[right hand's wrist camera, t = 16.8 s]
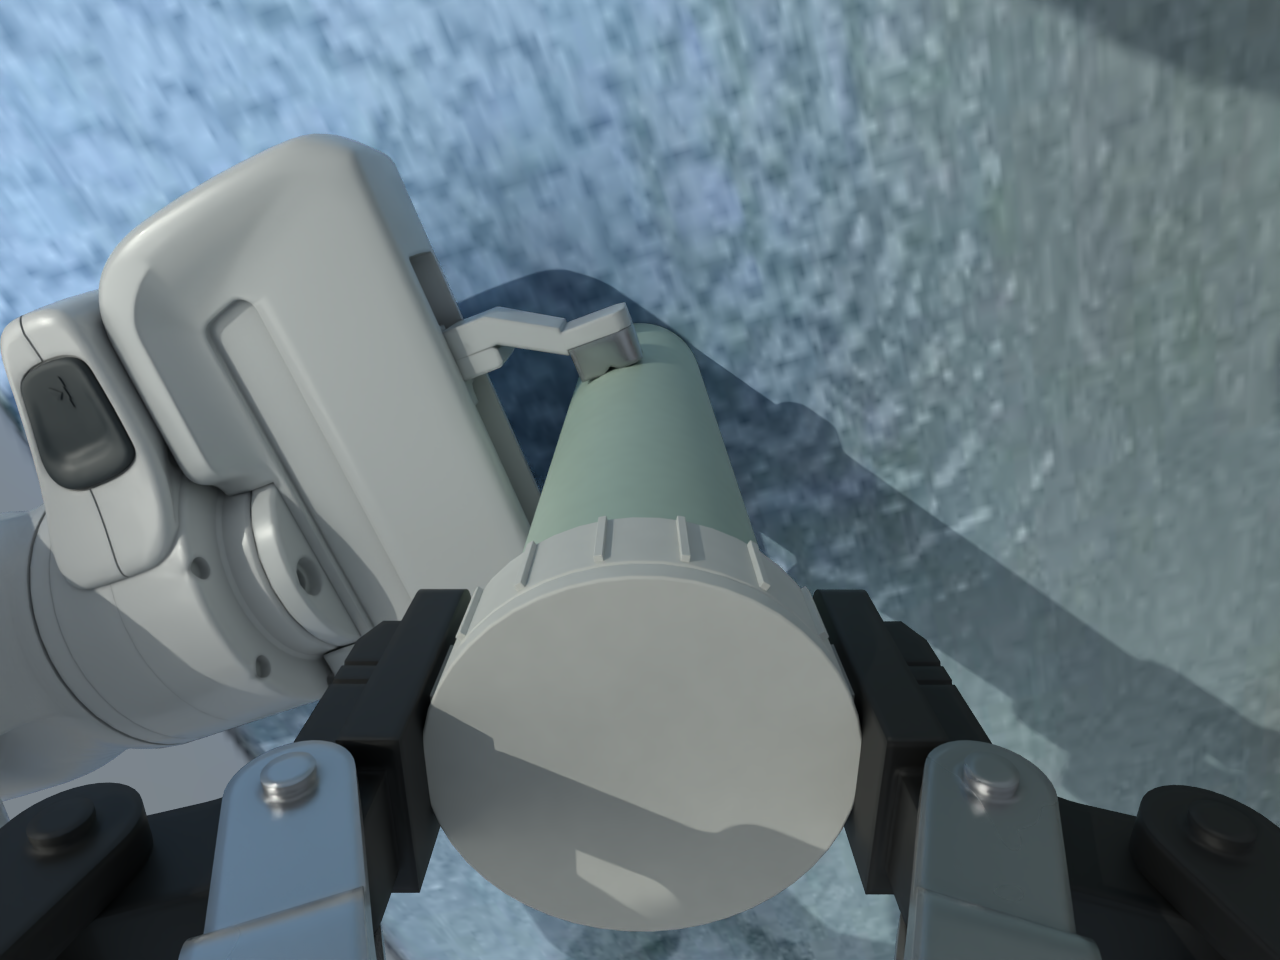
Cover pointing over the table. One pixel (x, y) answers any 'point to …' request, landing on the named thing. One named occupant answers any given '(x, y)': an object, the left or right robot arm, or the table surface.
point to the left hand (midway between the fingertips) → (669, 422)
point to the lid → (642, 728)
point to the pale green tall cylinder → (642, 448)
